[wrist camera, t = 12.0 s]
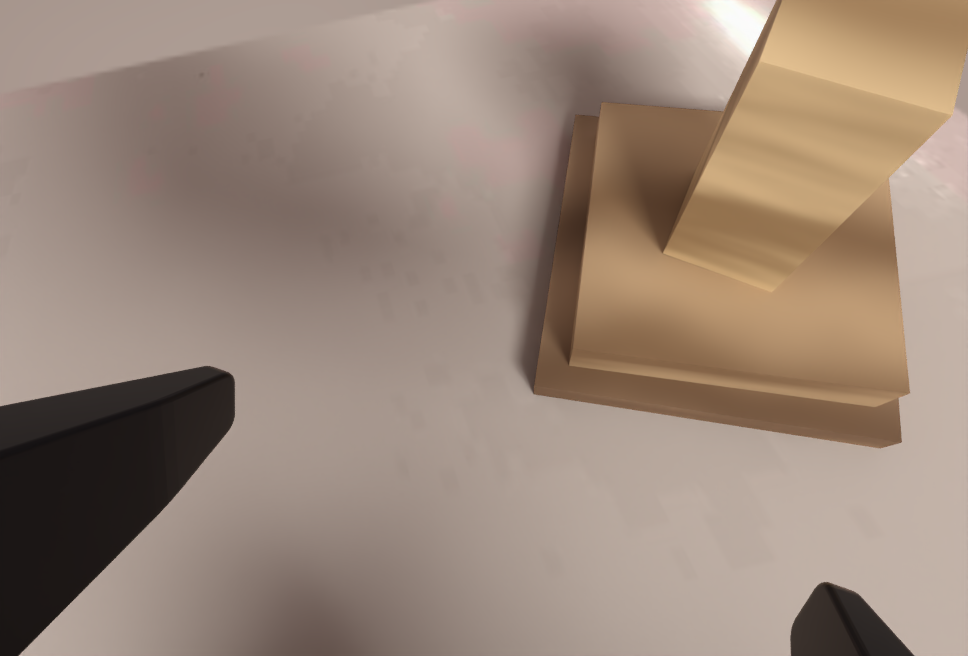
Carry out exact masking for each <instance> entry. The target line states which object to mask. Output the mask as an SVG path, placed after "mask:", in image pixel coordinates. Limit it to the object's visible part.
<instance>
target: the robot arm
mask: <svg viewBox="0 0 968 656" xmlns="http://www.w3.org/2000/svg"><path fill="white" fill-rule="evenodd" d="M234 417H235V381H234V378H233V376H232V375H231V374H230V373H229V372H226V371H223V370H221V369H218V368H215V367H211V366H204V367H199V368H193V369H188V370H183V371H178V372H173V373H168V374H163V375H158V376H153V377H147V378H142V379H137V380H132V381H127V382H122V383H117V384H112V385H107V386H101V387H96V388H91V389H86V390H81V391H76V392H71V393H66V394H61V395H55V396H50V397H45V398H40V399H35V400H30V401H25V402H20V403H15V404H10V405H4V406H0V656H19V655H20V654H21V653H22V652H23V651H24V650H25V649H26V648H27V647H28V646H29V645H30V644H31V643H32V642H33V641H34V640H35V639H36V637H37V636H38V635H39V634H40V633H41V632H42V631H43V630H44V629H45V628H46V627H47V626H48V625H49V624H50V623H51V622H52V621H53V620H54V619H55V618H56V617H57V616H58V615H59V614H60V613H61V612H62V611H63V610H64V609H65V608H66V607H67V606H68V605H69V604H70V603H71V602H72V601H73V600H74V599H75V598H76V597H77V596H78V595H79V594H80V593H81V592H82V591H83V590H84V589H85V588H86V587H87V586H88V585H89V584H90V583H91V582H92V581H93V580H94V579H95V578H96V577H97V576H98V575H99V574H100V573H101V572H102V571H103V570H104V569H105V568H106V567H107V566H108V565H109V564H110V563H111V562H112V561H113V560H114V559H115V558H116V557H117V556H118V555H119V554H120V553H121V552H122V551H123V550H124V549H125V548H126V547H127V546H128V545H129V544H130V543H131V542H132V541H133V540H134V539H135V538H136V537H137V536H138V535H139V534H140V533H141V532H142V530H143V529H144V528H145V527H146V526H147V525H148V524H149V523H150V522H151V521H152V520H153V519H154V518H155V517H156V516H157V515H158V514H159V513H160V512H161V511H162V510H163V509H164V508H165V507H166V506H167V505H168V504H169V502H170V501H171V500H172V499H173V498H174V497H175V496H176V494H177V493H178V492H179V491H180V490H181V489H182V487H183V486H184V485H185V484H186V482H187V481H188V480H189V479H190V477H191V476H192V475H193V474H194V473H195V471H196V470H197V469H198V468H199V466H200V465H201V464H202V463H203V462H204V460H205V459H206V458H207V457H208V455H209V454H210V453H211V452H212V450H213V449H214V448H215V447H216V446H217V444H218V443H219V442H220V441H221V439H222V438H223V437H224V436H225V435H226V433H227V432H228V431H229V429H230V428H231V426H232V424H233V421H234ZM790 641H791V656H914V655H913V654H912V652H911V651H910V650H909V649H908V648H907V647H906V646H905V645H904V644H903V643H902V641H901V640H900V639H899V638H898V637H897V636H896V635H895V634H894V633H893V631H892V630H891V629H890V628H889V627H888V626H887V625H886V624H885V623H884V622H883V620H882V619H881V618H880V617H879V616H878V615H877V614H876V613H875V612H874V610H873V609H872V608H871V607H870V606H869V605H868V604H867V603H866V602H865V601H864V599H863V598H862V597H861V596H860V595H859V594H857V593H856V592H854V591H852V590H849V589H846V588H843V587H840V586H837V585H834V584H832V583H829V582H823V583H820V584H819V585H818V586H817V587H816V588H815V589H814V591H813V592H812V594H811V595H810V597H809V598H808V600H807V602H806V603H805V605H804V606H803V608H802V609H801V611H800V612H799V614H798V615H797V617H796V619H795V620H794V623H793V625H792V629H791V636H790Z"/></svg>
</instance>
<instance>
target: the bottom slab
mask: <svg viewBox="0 0 968 656" xmlns="http://www.w3.org/2000/svg"><path fill="white" fill-rule="evenodd" d="M598 121H599V117H596V116H585V115H575V122H574V128H573V135H572V141H571V148H570V154H569V161H568V167H567V174H566V180H565V187H564V194H563V200H562V207H561V213H560V220H559V226H558V233H557V239H556V246H555V252H554V259H553V265H552V272H551V279H550V285H549V292H548V298H547V305H546V311H545V318H544V324H543V331H542V337H541V344H540V350H539V357H538V364H537V370H536V377H535V383H534V394H536V395H543V396H549V397H555V398H562V399H568V400H575V401H581V402H587V403H594V404H600V405H607V406H613V407H619V408H626V409H632V410H639V411H645V412H651V413H658V414H664V415H671V416H677V417H683V418H690V419H696V420H703V421H709V422H715V423H722V424H728V425H735V426H741V427H747V428H754V429H760V430H766V431H773V432H779V433H786V434H792V435H798V436H805V437H811V438H818V439H824V440H830V441H837V442H843V443H850V444H856V445H862V446H869V447H875V448H883V447H887V446H890V445H894V444H898V443H901V442H902V439H901V426H900V413H899V400H898V398H897V399H894V400H892V401H889V402H887V403H884V404H882V405H879V406H877V407H870V406H863V405H855V404H848V403H841V402H833V401H826V400H819V399H811V398H804V397H796V396H789V395H782V394H774V393H767V392H760V391H752V390H745V389H738V388H730V387H723V386H715V385H708V384H701V383H693V382H686V381H679V380H671V379H664V378H657V377H649V376H642V375H635V374H627V373H620V372H612V371H605V370H598V369H590V368H583V367H576V366H569V360H570V352H571V343H572V335H573V326H574V318H575V309H576V301H577V293H578V284H579V276H580V267H581V259H582V250H583V242H584V233H585V225H586V216H587V208H588V200H589V191H590V183H591V174H592V166H593V157H594V149H595V140H596V133H597V127H598Z"/></svg>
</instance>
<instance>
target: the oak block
mask: <svg viewBox="0 0 968 656" xmlns="http://www.w3.org/2000/svg"><path fill="white" fill-rule="evenodd" d="M967 49H968V0H777V1H776V3H775V5H774V7H773V9H772V11H771V13H770V15H769V17H768V19H767V22H766V24H765V26H764V28H763V30H762V32H761V34H760V36H759V38H758V40H757V42H756V45H755V47H754V49H753V51H752V53H751V55H750V57H749V59H748V61H747V63H746V66H745V68H744V70H743V72H742V74H741V76H740V78H739V80H738V82H737V84H736V86H735V89H734V91H733V93H732V95H731V97H730V99H729V101H728V103H727V105H726V107H725V110H724V112H723V114H722V116H721V118H720V120H719V122H718V124H717V126H716V128H715V131H714V133H713V135H712V137H711V139H710V141H709V143H708V145H707V147H706V149H705V151H704V154H703V156H702V158H701V160H700V162H699V164H698V166H697V168H696V171H695V173H694V176H693V178H692V181H691V183H690V186H689V188H688V191H687V193H686V196H685V198H684V201H683V204H682V206H681V209H680V211H679V214H678V216H677V219H676V221H675V224H674V226H673V229H672V231H671V234H670V237H669V239H668V242H667V244H666V247H665V249H664V252H663V254H666V255H669V256H671V257H674V258H677V259H680V260H683V261H685V262H688V263H691V264H694V265H696V266H699V267H702V268H705V269H708V270H710V271H713V272H716V273H719V274H722V275H724V276H727V277H730V278H733V279H736V280H738V281H741V282H744V283H747V284H750V285H752V286H755V287H758V288H761V289H764V290H767V291H769V292H773V291H774V290H775V289H776V288H777V287H778V286H779V285H780V284H781V283H782V282H783V281H784V280H785V279H786V278H787V277H788V276H789V275H790V274H791V273H792V272H793V271H794V270H795V269H796V268H797V267H798V266H799V265H800V264H801V263H802V262H803V261H804V260H805V259H806V258H807V257H808V256H809V255H810V254H812V253H813V252H814V251H815V250H816V249H817V248H818V247H819V246H820V245H821V244H822V243H823V242H824V241H825V240H826V239H827V238H828V237H829V236H830V235H831V234H832V233H833V232H834V231H835V230H836V229H837V228H838V227H839V226H840V225H841V224H842V223H843V222H844V221H845V220H846V219H847V218H848V217H849V216H850V215H851V214H852V213H853V212H854V211H855V210H856V209H857V208H858V207H859V206H860V205H861V204H862V203H863V202H864V201H865V200H867V199H868V198H869V197H870V196H871V195H872V194H873V193H874V192H875V191H876V190H877V189H878V188H879V187H880V186H881V185H882V184H883V183H884V182H885V181H886V180H887V179H888V178H889V177H890V176H891V175H892V174H893V173H894V172H895V171H896V170H897V169H898V168H899V167H900V166H901V165H902V164H903V163H904V162H905V161H906V160H907V159H908V158H909V157H910V156H911V155H912V154H913V153H914V152H915V151H916V150H917V149H918V148H919V147H921V146H922V145H923V144H924V143H925V142H926V141H927V140H928V139H929V138H930V137H931V136H932V135H933V134H934V133H935V132H936V131H937V130H938V129H939V128H940V127H941V126H942V125H943V124H944V123H945V122H946V121H947V120H948V119H949V118H950V117H951V116H952V114H953V110H954V106H955V101H956V97H957V93H958V88H959V84H960V79H961V75H962V71H963V66H964V62H965V58H966V54H967Z"/></svg>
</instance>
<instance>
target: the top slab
mask: <svg viewBox="0 0 968 656" xmlns="http://www.w3.org/2000/svg"><path fill="white" fill-rule="evenodd" d="M722 114H723V112H721V111H708V110H696V109H683V108H670V107H658V106H645V105H632V104H620V103H607V102H602V103H601V109H600V115H599V121H598V127H597V133H596V140H595V149H594V157H593V166H592V174H591V183H590V191H589V200H588V208H587V216H586V225H585V233H584V242H583V250H582V259H581V267H580V276H579V284H578V293H577V301H576V309H575V318H574V326H573V335H572V343H571V352H570V360H569V366H576V367H583V368H590V369H598V370H605V371H612V372H620V373H627V374H635V375H642V376H649V377H657V378H664V379H671V380H679V381H686V382H693V383H701V384H708V385H715V386H723V387H730V388H738V389H745V390H752V391H760V392H767V393H774V394H782V395H789V396H796V397H804V398H811V399H819V400H826V401H833V402H841V403H848V404H855V405H863V406H870V407H877V406H879V405H882V404H884V403H887V402H889V401H892V400H894V399H897V398H899V397H902V396H904V395H907V394H909V393H910V389H909V379H908V369H907V359H906V349H905V338H904V328H903V318H902V308H901V298H900V288H899V278H898V267H897V257H896V247H895V237H894V227H893V217H892V207H891V196H890V186H889V178H888V179H887V180H886V181H885V182H884V183H883V184H882V185H881V186H880V187H879V188H878V189H877V190H876V191H875V192H874V193H873V194H872V195H871V196H870V197H869V198H868V199H867V200H865V201H864V202H863V203H862V204H861V205H860V206H859V207H858V208H857V209H856V210H855V211H854V212H853V213H852V214H851V215H850V216H849V217H848V218H847V219H846V220H845V221H844V222H843V223H842V224H841V225H840V226H839V227H838V228H837V229H836V230H835V231H834V232H833V233H832V234H831V235H830V236H829V237H828V238H827V239H826V240H825V241H824V242H823V243H822V244H821V245H820V246H819V247H818V248H817V249H816V250H815V251H814V252H813V253H812V254H810V255H809V256H808V257H807V258H806V259H805V260H804V261H803V262H802V263H801V264H800V265H799V266H798V267H797V268H796V269H795V270H794V271H793V272H792V273H791V274H790V275H789V276H788V277H787V278H786V279H785V280H784V281H783V282H782V283H781V284H780V285H779V286H778V287H777V288H776V289H775V290H774V291H773V292H769V291H767V290H764V289H761V288H758V287H755V286H752V285H750V284H747V283H744V282H741V281H738V280H736V279H733V278H730V277H727V276H724V275H722V274H719V273H716V272H713V271H710V270H708V269H705V268H702V267H699V266H696V265H694V264H691V263H688V262H685V261H683V260H680V259H677V258H674V257H671V256H669V255H666V254H663V252H664V249H665V247H666V244H667V242H668V239H669V237H670V234H671V231H672V229H673V226H674V224H675V221H676V219H677V216H678V214H679V211H680V209H681V206H682V204H683V201H684V198H685V196H686V193H687V191H688V188H689V186H690V183H691V181H692V178H693V176H694V173H695V171H696V168H697V166H698V164H699V162H700V160H701V158H702V156H703V154H704V151H705V149H706V147H707V145H708V143H709V141H710V139H711V137H712V135H713V133H714V131H715V128H716V126H717V124H718V122H719V120H720V118H721V116H722Z"/></svg>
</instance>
